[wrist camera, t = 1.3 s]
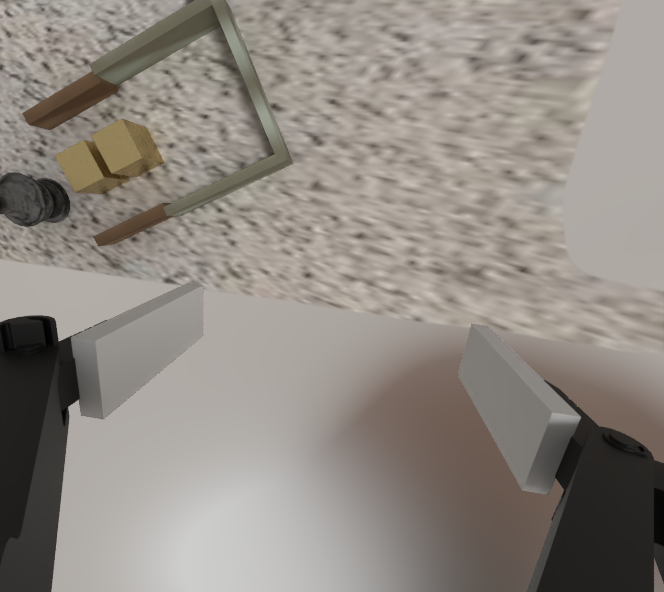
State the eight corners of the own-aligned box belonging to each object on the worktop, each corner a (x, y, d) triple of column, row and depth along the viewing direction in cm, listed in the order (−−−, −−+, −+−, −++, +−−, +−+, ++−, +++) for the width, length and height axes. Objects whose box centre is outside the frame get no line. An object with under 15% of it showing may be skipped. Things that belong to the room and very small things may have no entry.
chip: (119, 143, 37) (91, 135, 33) (147, 128, 36) (122, 118, 32) (137, 176, 38) (111, 173, 34) (164, 162, 37) (141, 157, 33)
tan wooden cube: (85, 161, 38) (54, 156, 34) (112, 146, 37) (83, 139, 33) (103, 193, 39) (75, 192, 35) (130, 180, 38) (104, 177, 34)
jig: (42, 116, 37) (15, 109, 34) (229, 6, 32) (216, -13, 29) (115, 246, 40) (96, 249, 37) (293, 163, 36) (287, 159, 33)
